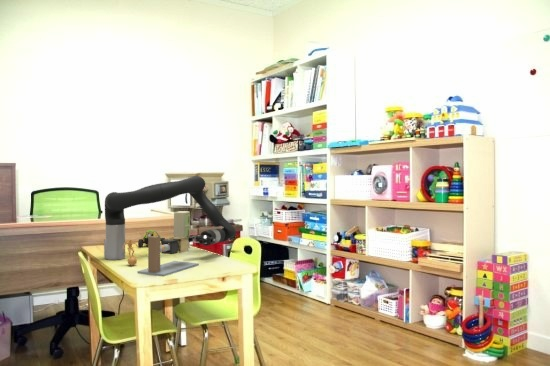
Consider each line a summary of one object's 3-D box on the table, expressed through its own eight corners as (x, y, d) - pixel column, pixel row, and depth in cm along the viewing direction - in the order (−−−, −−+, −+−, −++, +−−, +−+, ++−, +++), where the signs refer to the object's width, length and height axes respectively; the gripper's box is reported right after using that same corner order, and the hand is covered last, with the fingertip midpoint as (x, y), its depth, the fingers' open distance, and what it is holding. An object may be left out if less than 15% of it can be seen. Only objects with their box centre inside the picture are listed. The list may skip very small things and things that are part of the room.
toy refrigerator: (185, 249, 259) (185, 212, 259) (173, 249, 261) (173, 212, 260) (191, 247, 267) (191, 211, 267) (179, 247, 269) (179, 211, 268)
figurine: (125, 267, 210) (125, 241, 210) (120, 265, 215) (119, 239, 215) (142, 265, 216) (142, 239, 216) (136, 263, 221) (136, 238, 220)
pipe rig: (137, 273, 199) (137, 236, 198) (174, 262, 223) (174, 229, 222) (163, 276, 193) (163, 238, 193) (198, 265, 217) (198, 231, 216)
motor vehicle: (165, 243, 283) (165, 226, 282) (156, 249, 263) (156, 230, 263) (146, 243, 283) (146, 226, 283) (136, 248, 264) (136, 230, 263)
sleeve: (169, 251, 213) (169, 238, 212) (177, 250, 218) (177, 236, 218) (180, 253, 210) (180, 239, 210) (188, 251, 215) (188, 237, 215)
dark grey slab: (161, 253, 207) (161, 240, 207) (166, 252, 211) (167, 239, 211) (172, 254, 205) (172, 241, 205) (177, 253, 208) (177, 240, 208)
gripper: (198, 229, 242) (180, 232, 227) (222, 230, 236) (204, 234, 221) (198, 243, 242) (180, 248, 227) (222, 245, 236) (204, 250, 221)
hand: (192, 241), depth 224 cm, fingers open, 8 cm apart
